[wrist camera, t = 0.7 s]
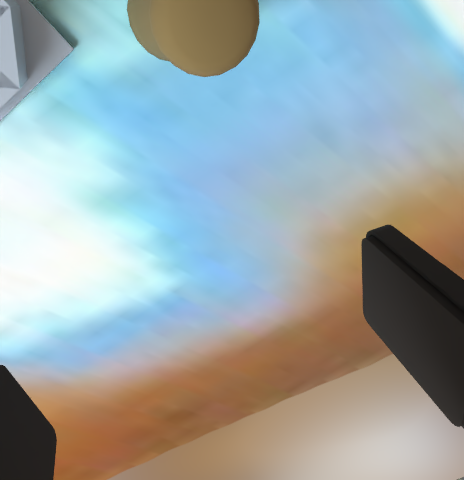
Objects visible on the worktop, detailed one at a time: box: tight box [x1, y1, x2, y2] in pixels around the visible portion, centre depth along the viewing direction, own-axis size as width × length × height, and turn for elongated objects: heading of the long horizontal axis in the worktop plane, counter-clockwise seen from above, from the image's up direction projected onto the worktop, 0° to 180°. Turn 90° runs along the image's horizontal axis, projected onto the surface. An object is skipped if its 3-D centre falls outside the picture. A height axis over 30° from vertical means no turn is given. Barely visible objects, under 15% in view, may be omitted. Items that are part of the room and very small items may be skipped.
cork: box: [127, 0, 259, 77], centre depth 22 cm, size 6×6×11 cm
